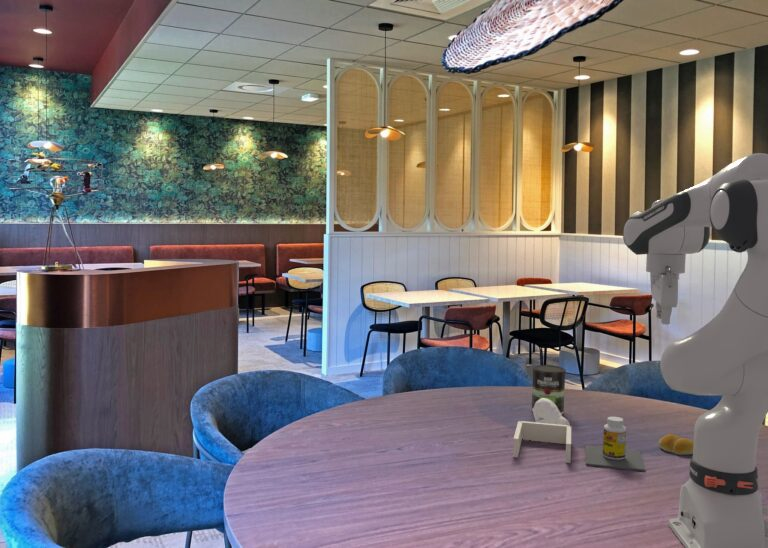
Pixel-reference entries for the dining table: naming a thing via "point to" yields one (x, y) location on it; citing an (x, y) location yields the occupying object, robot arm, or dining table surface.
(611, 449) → the supplement bottle
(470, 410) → the dining table surface
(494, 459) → the dining table surface
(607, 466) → the mat
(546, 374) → the coffee can
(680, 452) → the bread roll
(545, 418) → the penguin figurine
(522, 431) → the beige u-shaped bracket
